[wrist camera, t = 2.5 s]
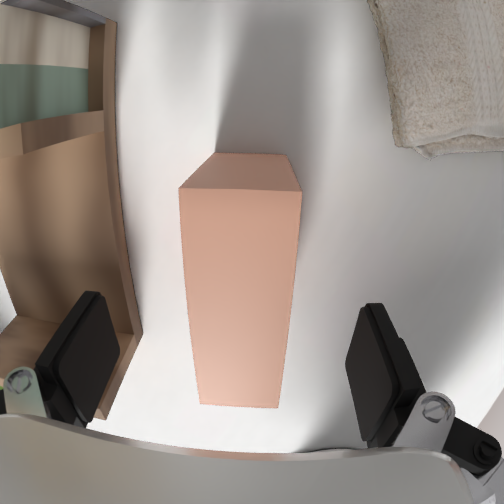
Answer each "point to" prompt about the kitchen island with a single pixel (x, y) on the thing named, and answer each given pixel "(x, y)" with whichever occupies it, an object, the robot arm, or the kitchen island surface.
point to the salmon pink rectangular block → (240, 274)
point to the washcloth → (444, 73)
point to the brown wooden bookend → (60, 180)
